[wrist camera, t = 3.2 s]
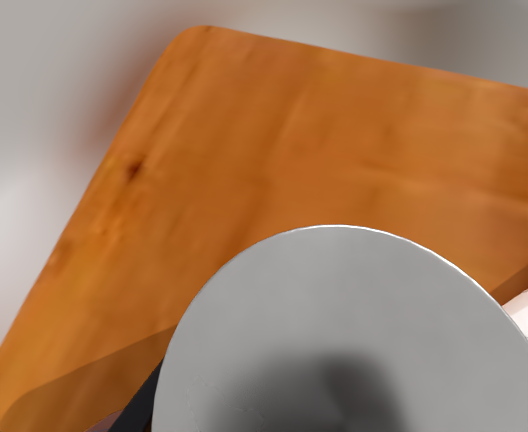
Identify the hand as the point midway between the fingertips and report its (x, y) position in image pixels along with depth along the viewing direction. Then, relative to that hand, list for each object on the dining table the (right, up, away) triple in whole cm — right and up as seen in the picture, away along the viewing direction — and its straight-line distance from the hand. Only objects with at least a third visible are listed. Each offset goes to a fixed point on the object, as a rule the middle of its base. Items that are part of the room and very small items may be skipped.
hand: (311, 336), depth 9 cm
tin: (+1, -2, +7) cm, 8 cm away
